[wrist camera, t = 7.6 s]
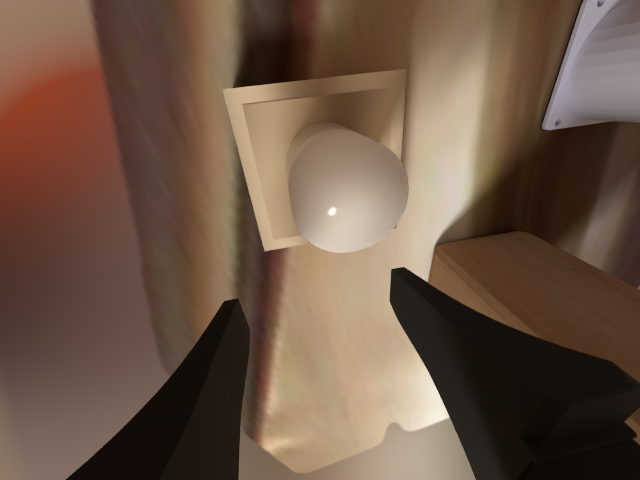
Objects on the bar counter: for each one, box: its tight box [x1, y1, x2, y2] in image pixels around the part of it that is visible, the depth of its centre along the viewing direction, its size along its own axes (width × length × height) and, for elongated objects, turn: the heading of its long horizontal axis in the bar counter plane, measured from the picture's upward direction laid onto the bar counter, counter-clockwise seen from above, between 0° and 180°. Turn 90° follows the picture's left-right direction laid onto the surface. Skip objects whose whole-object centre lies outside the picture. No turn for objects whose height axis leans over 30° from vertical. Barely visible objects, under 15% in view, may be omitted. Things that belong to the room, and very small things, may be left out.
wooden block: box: [428, 231, 640, 445], centre depth 18 cm, size 10×10×20 cm
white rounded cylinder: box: [285, 122, 409, 253], centre depth 13 cm, size 5×5×6 cm
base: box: [223, 69, 407, 251], centre depth 17 cm, size 10×10×3 cm
